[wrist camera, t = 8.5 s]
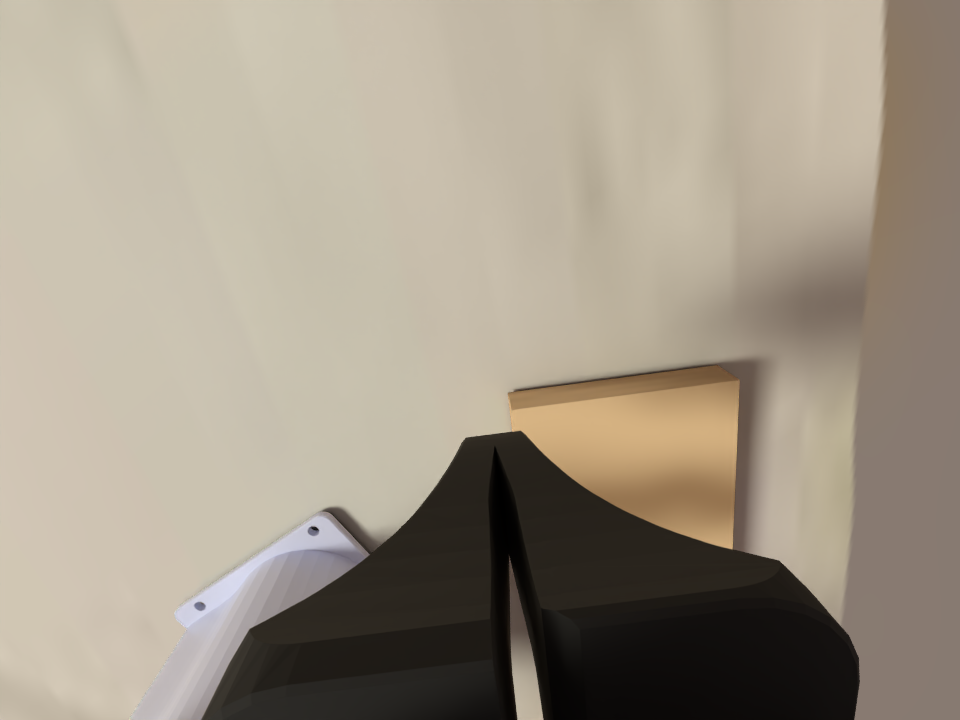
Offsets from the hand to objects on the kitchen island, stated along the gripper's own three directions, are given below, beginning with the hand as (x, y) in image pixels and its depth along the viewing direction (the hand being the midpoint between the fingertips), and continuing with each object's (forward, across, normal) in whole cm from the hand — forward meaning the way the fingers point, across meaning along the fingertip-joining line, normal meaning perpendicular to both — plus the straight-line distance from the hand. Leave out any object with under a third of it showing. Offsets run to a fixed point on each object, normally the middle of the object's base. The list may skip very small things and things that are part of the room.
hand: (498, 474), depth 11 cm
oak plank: (+10, -5, +8) cm, 14 cm away
